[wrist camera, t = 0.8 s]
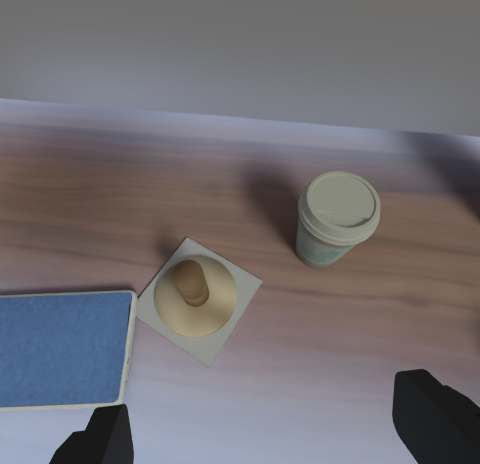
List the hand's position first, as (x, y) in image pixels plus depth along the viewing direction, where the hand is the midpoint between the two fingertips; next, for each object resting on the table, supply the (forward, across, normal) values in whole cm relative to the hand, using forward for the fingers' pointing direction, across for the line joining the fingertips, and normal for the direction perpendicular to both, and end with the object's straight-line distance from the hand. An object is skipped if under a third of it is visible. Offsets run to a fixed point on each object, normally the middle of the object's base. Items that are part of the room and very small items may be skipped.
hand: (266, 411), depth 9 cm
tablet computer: (+26, +21, +13) cm, 36 cm away
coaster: (+28, +4, +9) cm, 30 cm away
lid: (+28, +4, +9) cm, 30 cm away
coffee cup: (+31, -13, +5) cm, 34 cm away
